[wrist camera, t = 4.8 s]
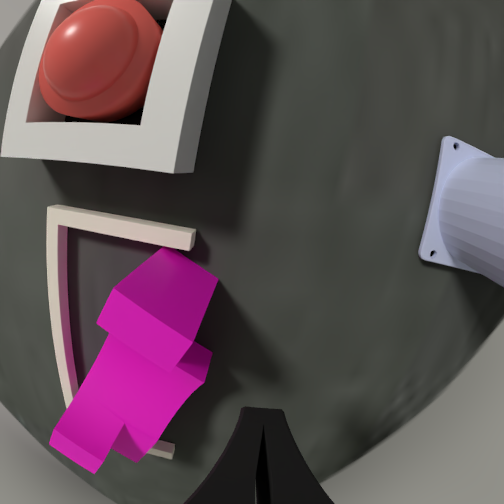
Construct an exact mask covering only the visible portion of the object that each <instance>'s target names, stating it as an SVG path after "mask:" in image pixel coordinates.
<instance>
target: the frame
mask: <svg viewBox="0 0 504 504" xmlns="http://www.w3.org/2000/svg"><path fill="white" fill-rule="evenodd" d="M68 227H73V228H78V229H82V230H87V231H92V232H97V233H102V234H107V235H112V236H117V237H122V238H126V239H131V240H136V241H141V242H146V243H151V244H156V245H161V246H166V247H171V248H177V249H182V250H187V251H190V250H191V249H192V247H193V246H194V242H195V235H196V229H192V228H187V227H181V226H176V225H170V224H165V223H160V222H154V221H149V220H143V219H138V218H132V217H126V216H121V215H115V214H110V213H104V212H98V211H93V210H87V209H81V208H75V207H70V206H64V205H53V206H49V207H48V208H47V278H48V294H49V307H50V317H51V325H52V333H53V341H54V347H55V354H56V360H57V365H58V371H59V376H60V381H61V386H62V390H63V395H64V399H65V403H66V407H67V408H68V406H69V405H70V403H71V402H72V400H73V398H74V397H75V395H76V393H77V392H78V390H79V388H78V383H77V377H76V370H75V364H74V356H73V348H72V340H71V330H70V319H69V305H68V284H67V232H68ZM174 451H175V444H173V443H169V442H165V441H162V440H158V441H157V442H156V443H155V444H154V445H153V447H152V448H151V449H150V450H149V451H148V452H147V453H149V454H153V455H156V456H160V457H164V458H168V459H172V458H173V454H174Z"/></svg>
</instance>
